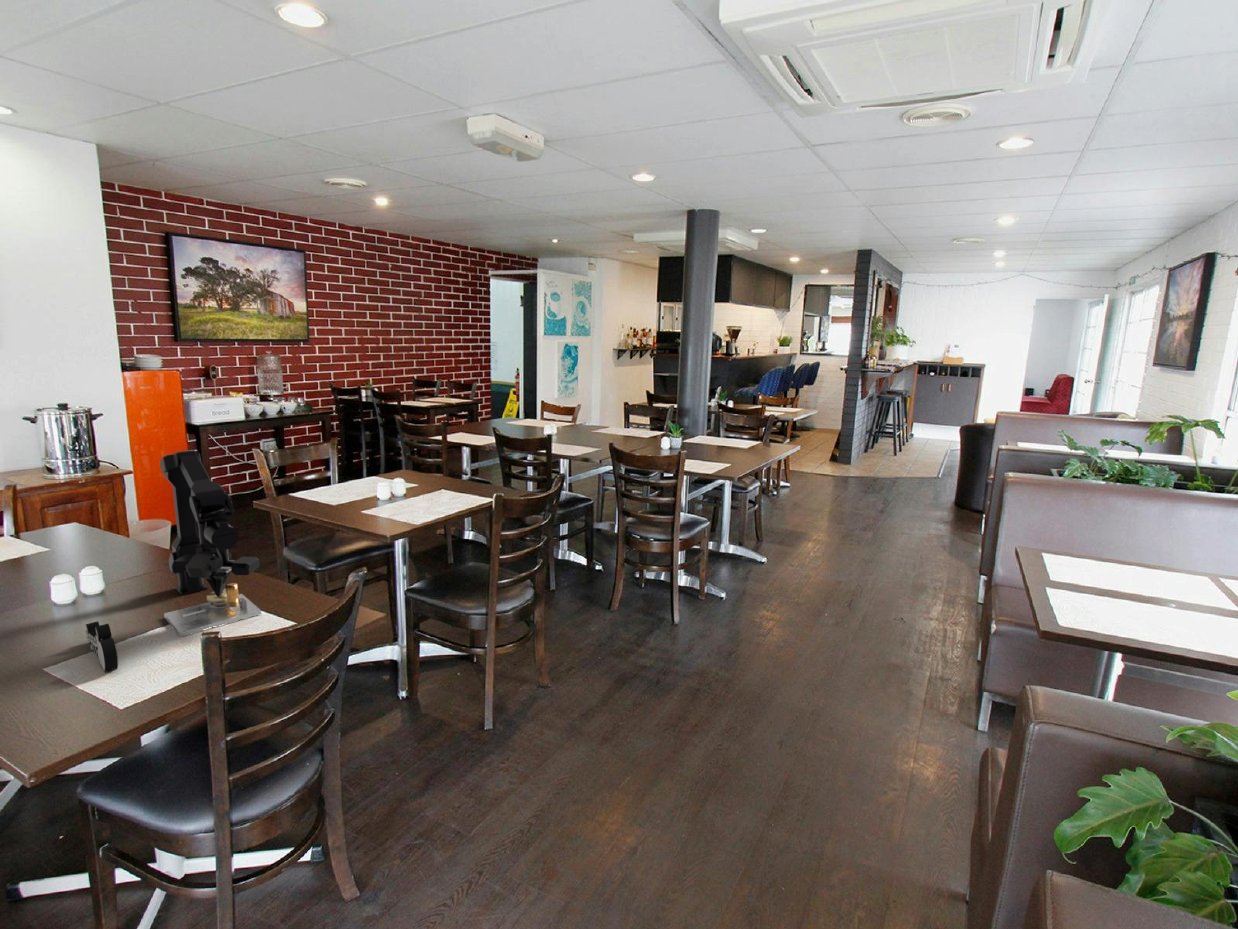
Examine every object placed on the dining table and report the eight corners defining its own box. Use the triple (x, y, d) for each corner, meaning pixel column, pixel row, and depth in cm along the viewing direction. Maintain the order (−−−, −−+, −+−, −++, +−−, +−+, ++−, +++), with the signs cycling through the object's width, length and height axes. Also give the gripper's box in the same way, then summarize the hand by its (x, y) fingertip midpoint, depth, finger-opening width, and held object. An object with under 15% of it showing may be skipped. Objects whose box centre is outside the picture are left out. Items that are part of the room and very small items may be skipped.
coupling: (203, 598, 168) (200, 577, 167) (229, 590, 173) (227, 570, 172) (222, 611, 161) (219, 590, 160) (249, 603, 166) (247, 582, 164)
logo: (120, 671, 137) (111, 625, 137) (107, 674, 136) (98, 629, 135) (102, 656, 152) (95, 615, 151) (91, 660, 150) (83, 618, 150)
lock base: (164, 617, 164) (162, 604, 163) (242, 597, 177) (241, 585, 176) (180, 637, 154) (178, 623, 153) (261, 614, 167) (260, 601, 166)
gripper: (152, 548, 151) (160, 609, 154) (233, 551, 152) (239, 611, 155) (182, 532, 162) (189, 589, 165) (258, 535, 162) (263, 592, 166)
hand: (219, 596), depth 163 cm, fingers closed
